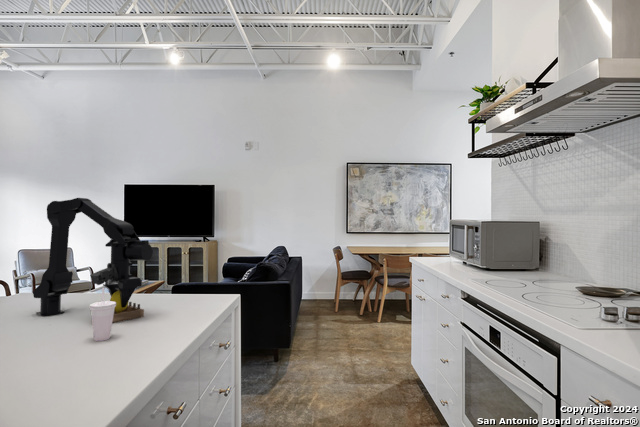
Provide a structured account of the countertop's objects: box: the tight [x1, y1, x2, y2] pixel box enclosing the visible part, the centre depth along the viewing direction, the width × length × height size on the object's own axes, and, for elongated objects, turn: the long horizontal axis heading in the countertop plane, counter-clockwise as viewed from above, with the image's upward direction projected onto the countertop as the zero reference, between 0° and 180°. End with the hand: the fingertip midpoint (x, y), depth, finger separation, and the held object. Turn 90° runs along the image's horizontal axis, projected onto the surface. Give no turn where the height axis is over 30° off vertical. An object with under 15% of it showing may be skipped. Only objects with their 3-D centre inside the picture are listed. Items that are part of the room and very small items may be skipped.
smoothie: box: [88, 287, 116, 342], centre depth 98 cm, size 6×6×14 cm
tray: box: [112, 301, 145, 324], centre depth 119 cm, size 11×11×4 cm
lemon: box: [109, 291, 130, 314], centre depth 119 cm, size 6×6×8 cm
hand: (119, 306), depth 119 cm, fingers open, 6 cm apart
